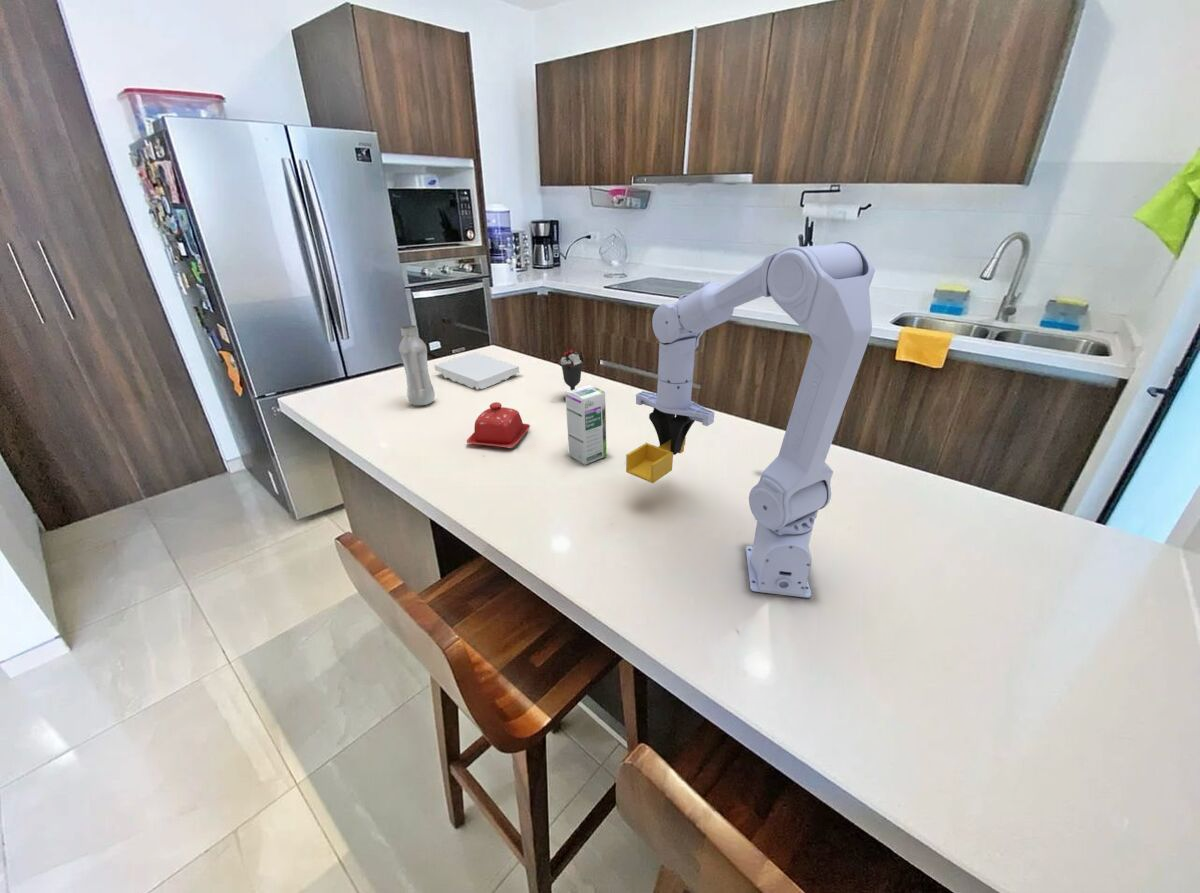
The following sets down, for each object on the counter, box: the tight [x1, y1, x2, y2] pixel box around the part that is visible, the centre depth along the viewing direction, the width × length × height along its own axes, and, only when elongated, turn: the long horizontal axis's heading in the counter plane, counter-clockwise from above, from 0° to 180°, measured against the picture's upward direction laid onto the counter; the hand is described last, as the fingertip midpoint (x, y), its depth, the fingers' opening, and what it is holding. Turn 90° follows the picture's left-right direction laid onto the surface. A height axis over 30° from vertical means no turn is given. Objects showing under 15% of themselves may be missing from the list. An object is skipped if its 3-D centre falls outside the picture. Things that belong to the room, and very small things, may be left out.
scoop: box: [625, 436, 687, 484], centre depth 86 cm, size 13×6×3 cm, turn 139°
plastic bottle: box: [398, 324, 436, 406], centre depth 125 cm, size 6×7×20 cm
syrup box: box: [564, 384, 607, 466], centre depth 100 cm, size 6×6×14 cm
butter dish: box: [466, 401, 531, 448], centre depth 109 cm, size 12×12×8 cm
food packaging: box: [434, 351, 520, 391], centre depth 147 cm, size 15×3×20 cm
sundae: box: [558, 344, 585, 402], centre depth 128 cm, size 7×7×15 cm
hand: (670, 450), depth 88 cm, fingers closed on scoop
